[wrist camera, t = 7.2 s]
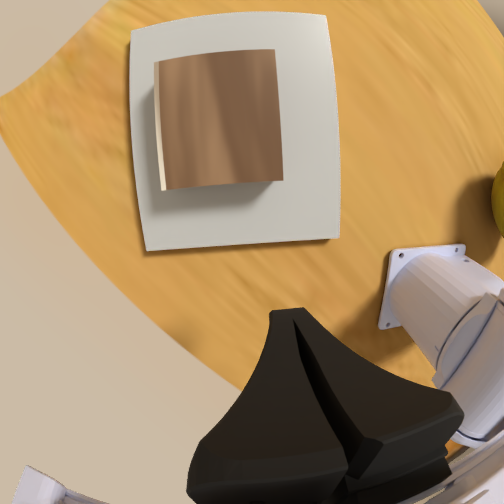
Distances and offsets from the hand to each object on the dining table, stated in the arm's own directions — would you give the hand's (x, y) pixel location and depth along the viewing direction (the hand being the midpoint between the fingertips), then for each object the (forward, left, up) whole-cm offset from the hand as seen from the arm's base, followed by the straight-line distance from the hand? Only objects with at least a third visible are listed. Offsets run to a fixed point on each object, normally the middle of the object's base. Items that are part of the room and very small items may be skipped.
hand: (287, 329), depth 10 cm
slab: (-1, -9, -8) cm, 12 cm away
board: (+2, -9, -10) cm, 14 cm away
